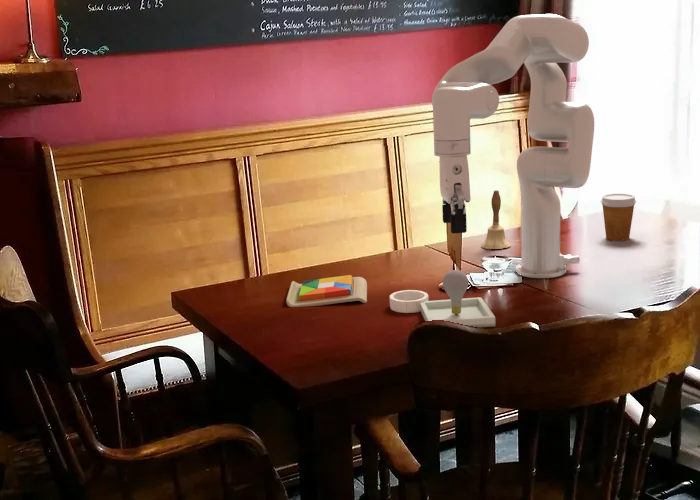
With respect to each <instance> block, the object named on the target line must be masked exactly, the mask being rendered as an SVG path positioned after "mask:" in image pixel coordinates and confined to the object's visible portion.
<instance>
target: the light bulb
mask: <svg viewBox="0 0 700 500" xmlns="http://www.w3.org/2000/svg"><path fill="white" fill-rule="evenodd" d="M442 286H443V290H444V291H445V292H446V294H447V296H448V297H449V300H450V299H451V306H452V307H451V309H452V311H451V312H452V313H453V314H455V315H458V314H460V313H461V305H462V303H461V300H462V299H463V298H464V295H465V293H466V291H467V290H468V286H469V279H468V276H467V274H465V272H464V271H462V270H459V269H458V270H457V269H453V270H449V271H448V272H447V273H445V275H444V276H443V279H442Z"/></svg>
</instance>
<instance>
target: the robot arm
mask: <svg viewBox="0 0 700 500" xmlns="http://www.w3.org/2000/svg"><path fill="white" fill-rule="evenodd" d="M589 44H590V39H589V35H588V33H587V31H586V29H585V28H584V27H583V26H582V25H581V24H579V23H577V22H575V21H573V20H570V19H569V18H566V17H565V16H562V15H558V14H555V13H554V14H553V13H545V14H544V13H543V14H525V15H524V14H522V15H517V16H514V17H512V18H510V19H509V20H508V21H507V22H506V23H505V24H504V26H503V27H502V29H500V31H499V32H498V33H497V34H496V36H495V37H494V38H493V40H492V41H491V42H490V43H489V44H488V46H487V47H485V49H483V50H482V51H479V52H477V53H475V54H473V55H472V56H470V57H468V58H466V59H464V60H462V61H460V62H458V63H457V64H455V65H454V66H453V67H451V68H450V69H449V70H447V72H445V74H444V75H443V77H442V78H441V79H440V80H439V81H438V83H437V84H436V86H435V88H434V91H433V92H432V96H431V105H432V120H433V122H432V123H433V124H432V125H433V155H434V156H435V157H438V158H439V163H438V164H439V188H440V189H439V190H440V196H441V197H442V211H441V212H442V222H443V224H448V223H449V224H450V233H451V234H452V235H453V234H465V233H467V232H468V231H467V228H468V227H467V209H466V203H470V201H471V199H472V198H471V185H470V170H469V169H470V168H469V162H468V161H469V160H468V156H469V155H471V153H472V152H471V119H473V120H474V119H477V120H478V119H479V120H482V119H483V120H484V119H487V118H490V117H491V116H492V115H493V114H494V113H496V111H497V109H498V107H499V104H500V95H499V93H498V90H497V89H496V88H495V87H494V86H493V85H495V84H499V83H502V82H504V81H507V80H508V79H511V78H512V77H514V76H515V74H517V72H518V71H519V69H520V68H521V66H522V65H523V64H524V66H525V68H526V69H527V72H528V76H529V78H530V95H529V105H528V106H529V107H528V114H527V116H528V117H527V133H528V135H529V136H530V138H532V139H533V140H535V141H540V142H541V141H542V142H556V143H567V147H557V146H539V145H538V146H530V147H527V148H525V149H523V150H522V151H521V152H520V154H519V155H518V157H517V160H516V171H517V177H518V183H519V188H520V201H521V202H520V206H521V207H520V209H521V210H520V212H521V214H520V215H521V216H520V217H521V218H520V221H521V222H520V223H521V224H520V229H521V230H520V231H521V232H520V233H521V235H520V238H521V240H520V241H521V242H520V244H521V245H520V246H521V247H520V248H521V249H520V251H521V253H520V256H521V259H520V260H521V262H520V263H518V264H516V266H515V270H516V272H517V273H519V274H521V275H522V277H524V278H531V279H550V278H557V277H558V278H559V277H561V276H563V275H565V274H566V273H567V265H570V264H571V265H574V264H576V265H577V264H580V256H579V255H573V256H572V254H565V255H564V254H562V253H561V210H562V209H561V208H562V207H561V200H560V197H559V195H558V193H557V192H556V189H554V187H555V188H562V189H563V188H566V189H579V188H582V187H584V185H585V184H586V183H587V182H588V179H589V177H590V176H589V175H590V171H591V163H592V153H593V144H594V136H595V135H594V134H595V116H594V112H593V110H592V108H591V107H590V106H589V105H588V104H586V103H584V102H580V101H579V102H578V101H576V102H574V101H567V88H568V82H567V78H566V75H565V74H564V71H563V70H562V68H561V67H560V65H558V63H577V62H579V61H582V60H583V59H584V58H585V57H586V55H587V53H588V50H589V46H590V45H589ZM465 202H466V203H465ZM520 264H521V265H520ZM515 270H514V271H515ZM516 272H515V273H516ZM517 273H516V274H517ZM519 274H518V275H519ZM521 275H520V276H521Z"/></svg>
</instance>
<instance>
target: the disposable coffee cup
mask: <svg viewBox="0 0 700 500" xmlns="http://www.w3.org/2000/svg"><path fill="white" fill-rule="evenodd" d="M600 203H601V205H602V212H603V213H602V214H603V222H604V230H605V231H604V232H605V238H606V240H610V241H616V242H617V241H618V242H620V241H627V240H629V239H630V235H631V229H632V223H633V215H634V210H635V205H636V203H637V201H636V198H635V196H634V195H632V194H628V193H609V194H604V195H603V196H602V199H601V200H600Z"/></svg>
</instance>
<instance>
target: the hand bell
mask: <svg viewBox="0 0 700 500" xmlns="http://www.w3.org/2000/svg"><path fill="white" fill-rule="evenodd" d="M501 200H502V199H501V196H500V192H499V190H493V194H492V197H491V208H492V215H493V217H492V225H491V226H489V227H488V228H487V233H486V238H485V239H484V241H483V242H482V243H481V245H480V247H481V248H482V249H484V250H489V249H490V251H491V249H502V248H506V247H509V246H510V245H511V243H510V242H509V241H508V239H507V238H506V235H505V228H504V227H503V226H501V225H500V224H499V223H500V210H501V206H502V204H501V203H502V201H501ZM502 250H503V249H502Z"/></svg>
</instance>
